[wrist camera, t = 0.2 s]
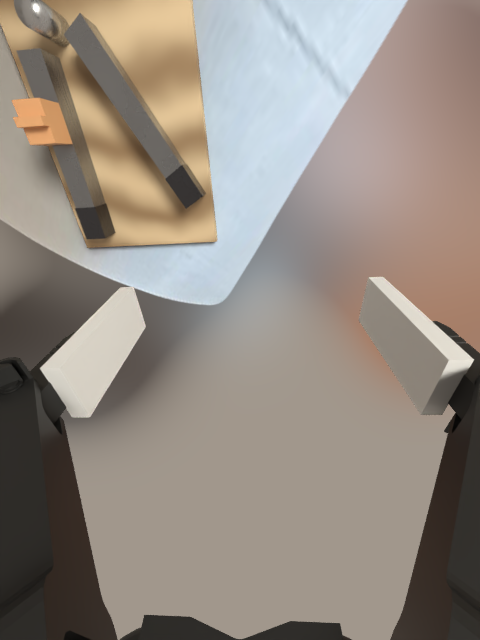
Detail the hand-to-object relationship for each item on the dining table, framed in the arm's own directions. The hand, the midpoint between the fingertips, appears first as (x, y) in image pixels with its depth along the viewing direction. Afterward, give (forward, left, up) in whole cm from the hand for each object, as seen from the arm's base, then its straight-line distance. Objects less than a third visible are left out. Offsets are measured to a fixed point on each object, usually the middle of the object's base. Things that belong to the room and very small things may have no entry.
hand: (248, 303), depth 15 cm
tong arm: (-11, -12, -25) cm, 29 cm away
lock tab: (-11, -21, -22) cm, 33 cm away
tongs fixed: (-10, -20, -25) cm, 34 cm away
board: (-9, -15, -26) cm, 32 cm away
